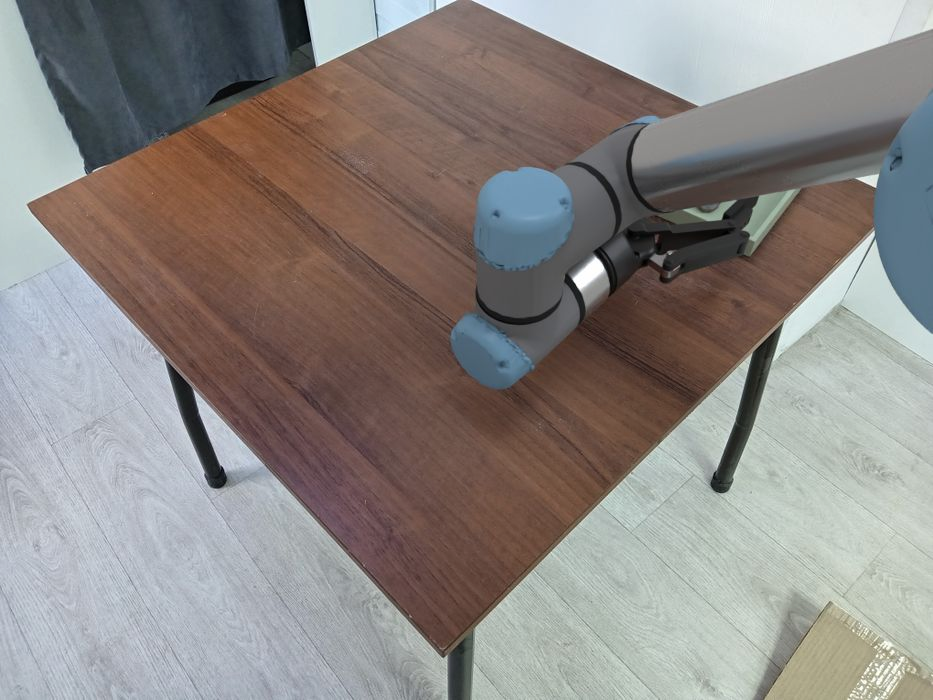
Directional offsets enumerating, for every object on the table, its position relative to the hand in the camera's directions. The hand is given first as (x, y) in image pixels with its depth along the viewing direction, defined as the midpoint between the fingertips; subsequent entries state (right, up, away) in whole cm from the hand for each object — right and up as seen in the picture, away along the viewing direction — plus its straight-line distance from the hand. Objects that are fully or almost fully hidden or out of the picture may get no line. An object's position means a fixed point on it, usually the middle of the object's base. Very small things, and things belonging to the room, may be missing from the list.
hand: (701, 166), depth 85 cm
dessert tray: (+6, -1, +11) cm, 12 cm away
